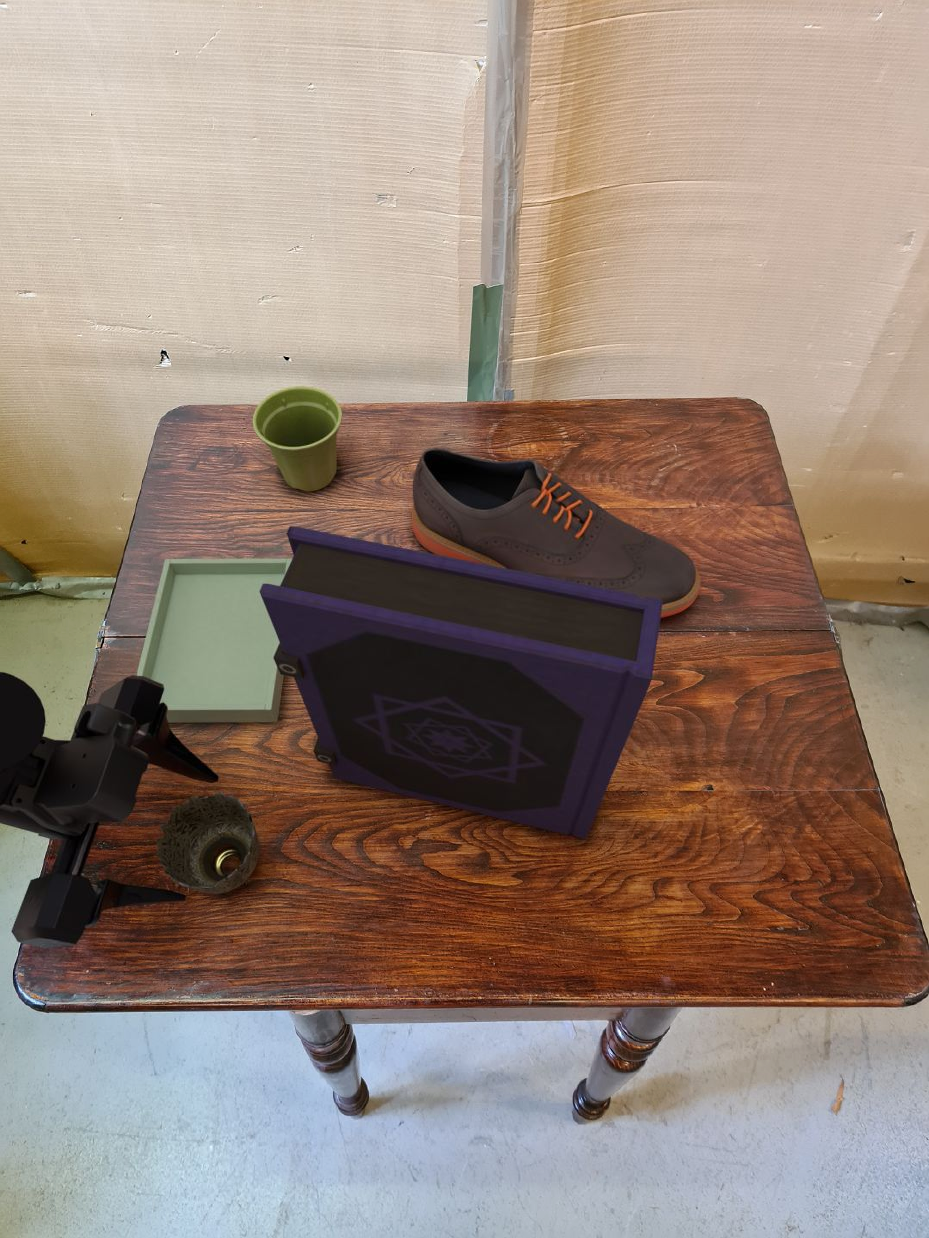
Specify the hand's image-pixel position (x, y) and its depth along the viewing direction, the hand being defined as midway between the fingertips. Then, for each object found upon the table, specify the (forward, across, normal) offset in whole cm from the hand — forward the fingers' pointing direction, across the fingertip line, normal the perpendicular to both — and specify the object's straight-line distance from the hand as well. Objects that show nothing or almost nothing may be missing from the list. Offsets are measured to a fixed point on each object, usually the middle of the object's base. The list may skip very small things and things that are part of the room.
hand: (200, 837), depth 61 cm
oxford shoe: (+24, +34, -12) cm, 44 cm away
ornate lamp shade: (+6, 0, +6) cm, 8 cm away
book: (+19, +10, -8) cm, 23 cm away
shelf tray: (+1, +21, +10) cm, 24 cm away
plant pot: (+4, +45, +7) cm, 46 cm away
